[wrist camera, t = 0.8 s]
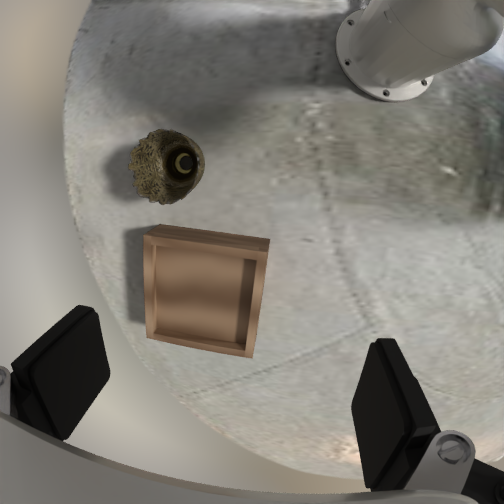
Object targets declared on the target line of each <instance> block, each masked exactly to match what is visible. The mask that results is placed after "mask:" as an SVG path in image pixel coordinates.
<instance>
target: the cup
mask: <svg viewBox="0 0 504 504" xmlns="http://www.w3.org/2000/svg"><path fill="white" fill-rule="evenodd" d="M139 142H140V144H139V145H138V146H137V147H135V148H134V149H133V150H132V152H131V153H130V158H131V159H130V160H131V163H129V166H128V168H129V170H132V171H133V172H134V175H133V177H134V178H135V181H134V183H133V186H134V187H136V188H137V194H138V195H139V196H141V197H146V198H149V202H151V203H155V202H158V201H159V203H160V204H161V205H164V204H173V203H175V202H177V201H178V200H180V199H181V200H182V199H183V198H185V196H186V195H187V194H188V193H190V192H191V191H192V190H193V189H194V188H195V186H196V185H197V184H198V183H199V181H200V180H201V178H202V175H203V173H204V167H205V161H204V156H203V153H202V151H201V149H200V147H199V146H198V145H197V144H196V143H195V142H194V141H193V140H192V139H190V138H188V137H187V136H185V135H183V134H181V133H178V132H176V131H174V130H171V129H170V130H169V131H168V130H164V129H158V130H156V131H154V132H150V133H149V135H148V137H147V138H143V139H140V140H139ZM185 156H188V157H190V158H191V159H192V162H193V165H192V167H191V168H190V169H188V170H184V169H182V168H181V166H180V160H181V159H182V158H183V157H185Z"/></svg>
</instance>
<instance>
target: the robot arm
mask: <svg viewBox="0 0 504 504" xmlns="http://www.w3.org/2000/svg"><path fill="white" fill-rule="evenodd" d="M349 24H351V26H350V25H349ZM503 28H504V0H371V1H370V2H369V4H368V6H367V7H366V8H365V9H360V10H358V11H356V12H353V13H352V14H350V15H349V16H348V17H346V19H345V20H344V21H343V22H342V24H341V26H340V28H339V30H338V33H337V36H336V43H335V47H336V55H337V58H338V61H339V64H340V65H341V67H342V69H343V71H344V73H345V74H346V75H347V77H348V78H349V79H350V80H351V81H352V82H353V83H354V84H355V85H356V86H357V87H358V88H359V89H361V90H362V91H364V92H365V93H367V94H368V95H371V96H373V97H375V98H377V99H380V100H384V101H389V102H404V101H408V100H411V99H414V98H416V97H418V96H420V95H421V94H422V93H424V92H425V91H426V90H427V89H428V88H429V86H430V84H431V82H432V80H433V78H434V75H435V74H437V73H439V72H441V71H444V70H446V69H448V68H451V67H453V66H455V65H458V64H460V63H462V62H465V61H467V60H470V59H472V58H475V57H476V56H479V55H481V54H483V53H485V52H487V51H489V50H490V49H491V48H492V47H493V46H494V45H495V44H496V43H497V41H498V40H499V38H500V36H501V34H502V31H503ZM345 62H347V63H348V64H349V65H348V66H347V65H346V64H345ZM421 82H422V83H423V85H422V84H421ZM383 92H384V93H385V94H386V96H384V95H383ZM11 366H12V369H13V372H12V373H11V374H10V372H9V370H8V369H7V368H5V367H3V366H0V504H504V472H503V471H501V470H499V469H497V468H494V467H492V466H490V465H487V464H486V463H483V462H481V461H479V460H477V459H475V452H476V451H475V446H474V444H473V442H472V441H471V439H470V438H469V437H467V436H466V435H465V434H463V433H461V432H458V431H454V430H447V431H443V432H441V430H440V428H439V426H438V423H437V421H436V419H435V417H434V414H433V412H432V410H431V408H430V406H429V404H428V401H427V399H426V397H425V395H424V393H423V391H422V389H421V387H420V385H419V382H418V380H417V379H416V378H415V377H414V376H413V374H412V372H411V370H410V368H409V366H408V364H407V362H406V360H405V358H404V356H403V354H402V352H401V350H400V348H399V346H398V344H397V342H396V340H395V339H393V338H378V339H377V340H376V342H372V343H371V344H370V347H369V350H368V354H367V357H366V360H365V364H364V367H363V370H362V373H361V376H360V380H359V383H358V386H357V389H356V392H355V395H354V397H353V400H352V406H351V410H352V416H353V421H354V426H355V431H356V436H357V442H358V447H359V453H360V458H361V464H362V470H363V476H364V482H365V486H366V488H370V489H371V492H361V493H341V494H294V493H273V492H260V491H250V490H241V489H233V488H224V487H219V486H212V485H206V484H201V483H195V482H190V481H185V480H180V479H176V478H172V477H167V476H163V475H159V474H155V473H151V472H147V471H144V470H141V469H137V468H134V467H131V466H127V465H124V464H121V463H118V462H115V461H112V460H109V459H106V458H103V457H100V456H97V455H95V454H92V453H89V452H87V451H84V450H82V449H79V448H77V447H74V446H72V445H70V444H67V443H65V442H63V440H66V439H68V438H69V436H70V435H71V433H72V432H73V430H74V429H75V427H76V426H77V425H78V423H79V421H80V420H81V419H82V417H83V416H84V414H85V413H86V411H87V410H88V408H89V407H90V406H91V404H92V403H93V401H94V400H95V398H96V397H97V395H98V394H99V393H100V391H101V390H102V388H103V387H104V386H105V384H106V383H107V381H108V380H109V378H110V368H109V364H108V360H107V356H106V351H105V346H104V341H103V337H102V332H101V327H100V321H99V316H98V314H97V313H96V312H95V310H94V309H93V308H92V307H88V306H83V305H78V306H76V307H75V308H74V309H72V310H71V311H70V312H69V313H68V314H66V315H65V316H64V317H63V318H62V319H61V320H60V321H58V322H57V323H56V324H55V325H54V326H52V327H51V328H50V329H49V330H48V331H47V332H46V333H44V334H43V335H42V336H41V337H40V338H39V339H38V340H36V341H35V342H34V343H33V344H32V345H31V346H30V347H29V348H28V349H26V350H25V351H24V352H23V353H22V354H21V355H20V356H19V357H18V358H17V359H15V360H14V362H12V363H11Z"/></svg>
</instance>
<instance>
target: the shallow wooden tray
mask: <svg viewBox="0 0 504 504" xmlns="http://www.w3.org/2000/svg"><path fill="white" fill-rule="evenodd" d="M269 244H270V239H266V238H259V237H251V236H244V235H237V234H230V233H223V232H215V231H208V230H200V229H193V228H185V227H178V226H170V225H162V224H160V225H158V226H157V227H155V228H153V229H152V230H150V231H149V232H147V233H146V234H144V235H143V267H144V301H145V320H146V335H147V338H150V339H154V340H158V341H163V342H167V343H172V344H176V345H181V346H186V347H191V348H196V349H201V350H206V351H212V352H217V353H223V354H228V355H234V356H240V357H247V358H253V352H254V346H255V341H256V335H257V328H258V321H259V314H260V308H261V301H262V294H263V287H264V280H265V273H266V265H267V258H268V251H269Z"/></svg>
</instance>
